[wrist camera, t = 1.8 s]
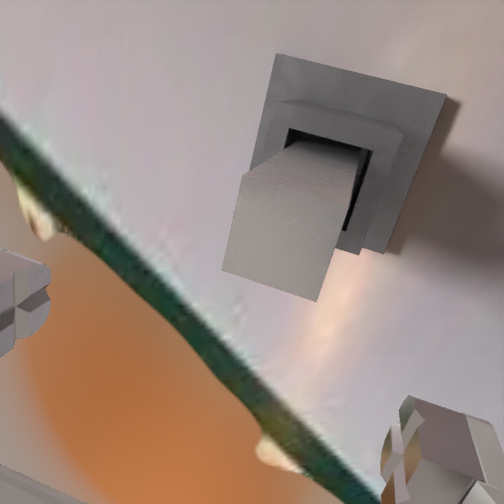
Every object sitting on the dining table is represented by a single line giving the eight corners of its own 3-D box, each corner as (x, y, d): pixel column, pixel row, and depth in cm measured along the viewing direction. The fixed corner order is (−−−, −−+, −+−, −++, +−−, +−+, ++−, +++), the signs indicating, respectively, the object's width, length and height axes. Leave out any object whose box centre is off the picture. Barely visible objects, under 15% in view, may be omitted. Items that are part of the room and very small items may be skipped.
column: (362, 142, 34) (348, 206, 14) (346, 190, 36) (314, 307, 16) (316, 129, 35) (242, 175, 15) (302, 177, 37) (220, 275, 17)
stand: (443, 94, 33) (486, 94, 21) (383, 248, 39) (388, 320, 26) (279, 54, 35) (229, 32, 23) (244, 205, 41) (189, 254, 29)
